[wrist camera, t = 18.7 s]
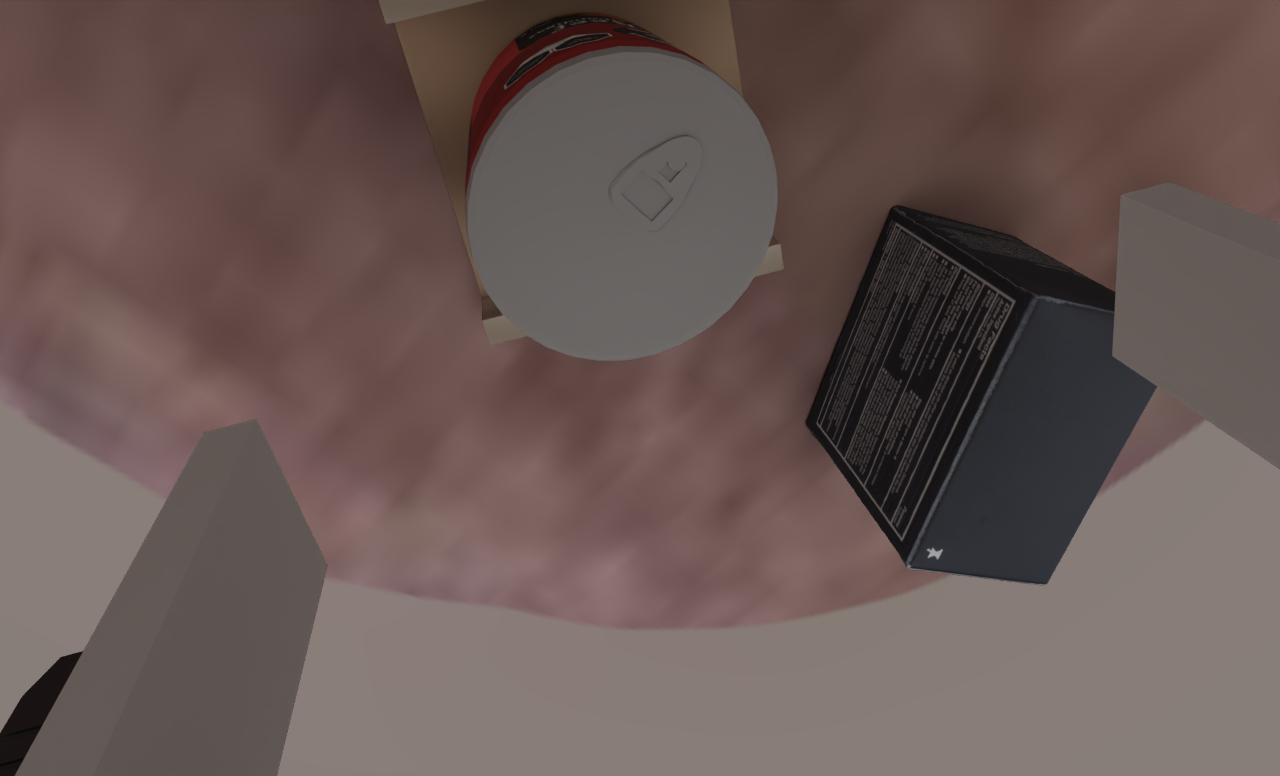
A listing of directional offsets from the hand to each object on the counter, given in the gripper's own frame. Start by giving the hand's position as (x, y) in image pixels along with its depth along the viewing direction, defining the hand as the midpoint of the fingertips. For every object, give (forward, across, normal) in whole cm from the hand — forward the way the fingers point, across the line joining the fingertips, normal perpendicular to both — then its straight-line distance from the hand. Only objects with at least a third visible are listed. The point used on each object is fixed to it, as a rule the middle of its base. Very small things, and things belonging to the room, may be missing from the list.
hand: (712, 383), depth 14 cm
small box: (+22, +12, -12) cm, 28 cm away
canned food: (+20, 0, 0) cm, 21 cm away
